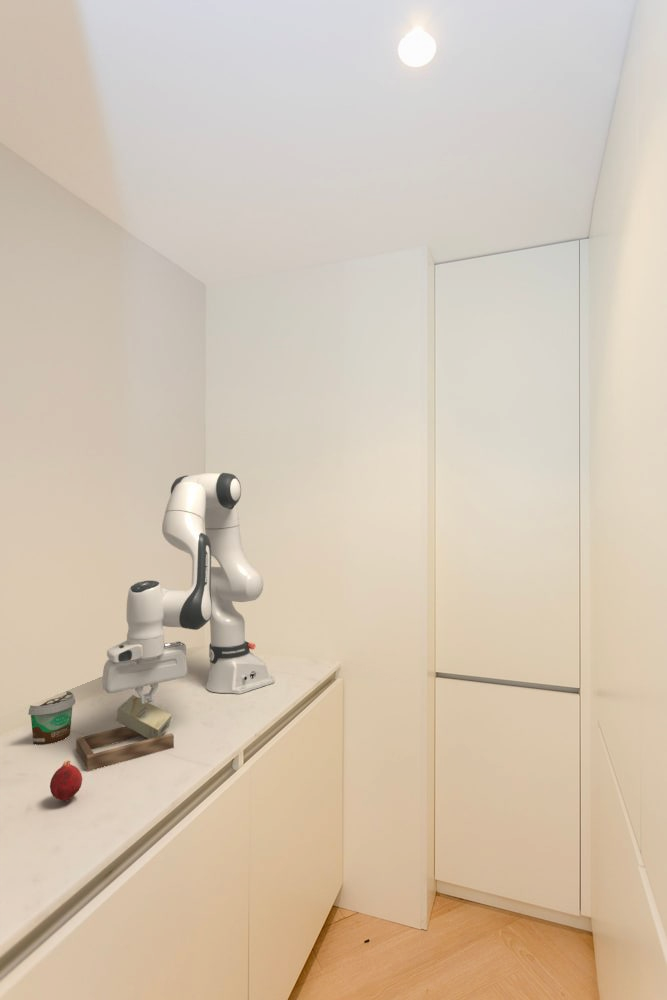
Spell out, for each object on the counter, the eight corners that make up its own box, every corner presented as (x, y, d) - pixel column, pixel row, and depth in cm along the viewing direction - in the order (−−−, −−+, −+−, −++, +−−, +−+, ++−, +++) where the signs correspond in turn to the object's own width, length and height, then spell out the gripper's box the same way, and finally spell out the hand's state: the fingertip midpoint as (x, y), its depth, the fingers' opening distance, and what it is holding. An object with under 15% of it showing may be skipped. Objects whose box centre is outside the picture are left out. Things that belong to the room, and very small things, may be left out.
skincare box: (158, 730, 133) (117, 708, 135) (155, 743, 134) (114, 721, 137) (172, 713, 138) (132, 693, 141) (169, 726, 140) (130, 706, 142)
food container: (46, 750, 130) (46, 709, 131) (28, 746, 133) (28, 706, 133) (86, 730, 142) (86, 692, 142) (68, 727, 144) (68, 690, 144)
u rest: (156, 730, 142) (156, 718, 142) (173, 747, 131) (173, 735, 131) (76, 750, 130) (76, 738, 130) (88, 771, 120) (88, 757, 120)
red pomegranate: (79, 806, 106) (79, 765, 106) (47, 811, 104) (46, 770, 104) (84, 791, 111) (84, 752, 111) (53, 796, 110) (53, 756, 110)
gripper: (181, 637, 143) (182, 689, 143) (100, 651, 131) (101, 708, 131) (190, 642, 138) (191, 696, 138) (106, 657, 126) (107, 716, 126)
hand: (146, 702), depth 134 cm, fingers closed
